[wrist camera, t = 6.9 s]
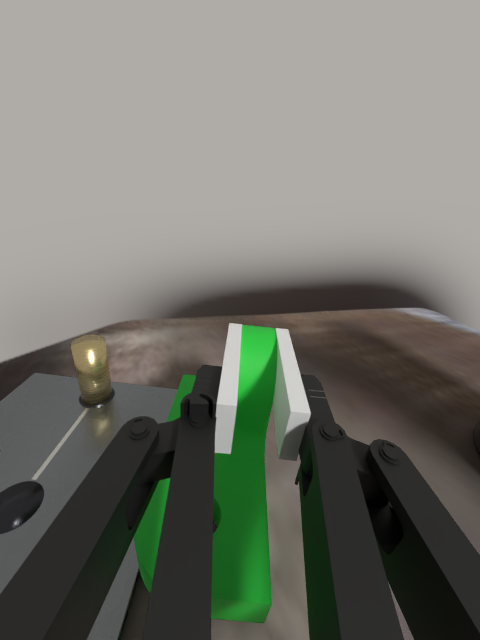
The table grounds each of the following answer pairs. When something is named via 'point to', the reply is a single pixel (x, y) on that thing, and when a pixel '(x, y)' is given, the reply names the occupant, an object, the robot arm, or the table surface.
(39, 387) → the bolt plate
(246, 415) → the mechanical part
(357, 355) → the table surface
